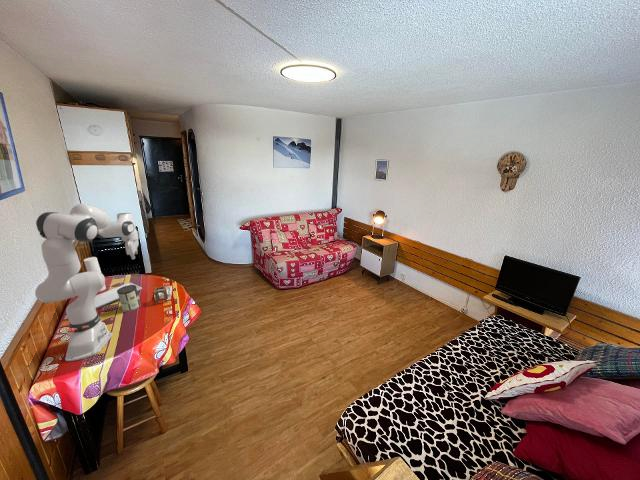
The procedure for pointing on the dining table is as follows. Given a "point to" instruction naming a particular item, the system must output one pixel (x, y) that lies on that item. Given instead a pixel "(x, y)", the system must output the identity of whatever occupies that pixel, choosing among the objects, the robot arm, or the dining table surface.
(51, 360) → the dining table surface
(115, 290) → the tray
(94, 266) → the cylindrical container
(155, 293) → the brown open box frame
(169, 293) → the cream tray
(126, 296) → the coffee can
